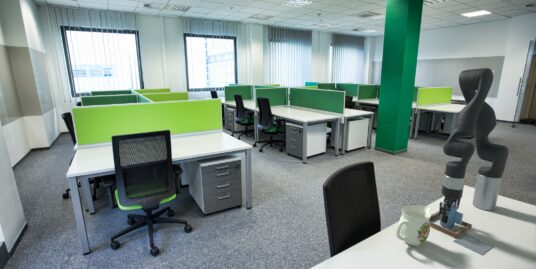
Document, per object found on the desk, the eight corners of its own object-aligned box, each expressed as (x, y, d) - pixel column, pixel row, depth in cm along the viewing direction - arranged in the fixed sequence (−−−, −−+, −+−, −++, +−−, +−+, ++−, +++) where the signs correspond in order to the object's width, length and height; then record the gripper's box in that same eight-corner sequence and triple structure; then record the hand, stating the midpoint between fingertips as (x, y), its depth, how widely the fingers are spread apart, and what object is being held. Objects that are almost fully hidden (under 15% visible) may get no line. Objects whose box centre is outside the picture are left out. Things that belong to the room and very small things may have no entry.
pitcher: (383, 240, 110) (387, 210, 107) (413, 229, 117) (416, 200, 114) (407, 256, 100) (411, 223, 97) (437, 243, 108) (442, 212, 105)
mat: (465, 233, 114) (465, 233, 114) (493, 246, 106) (493, 245, 105) (453, 241, 109) (453, 240, 109) (482, 255, 101) (482, 254, 100)
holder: (438, 214, 130) (438, 211, 129) (471, 228, 118) (472, 224, 117) (421, 222, 122) (422, 219, 122) (455, 238, 111) (456, 234, 110)
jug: (437, 223, 121) (439, 205, 119) (443, 219, 124) (446, 202, 122) (456, 231, 114) (460, 212, 112) (463, 227, 117) (466, 209, 115)
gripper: (451, 179, 122) (446, 212, 126) (435, 186, 115) (430, 221, 119) (470, 184, 116) (464, 219, 120) (454, 192, 109) (448, 229, 113)
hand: (447, 220), depth 120 cm, fingers closed on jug, 5 cm apart
